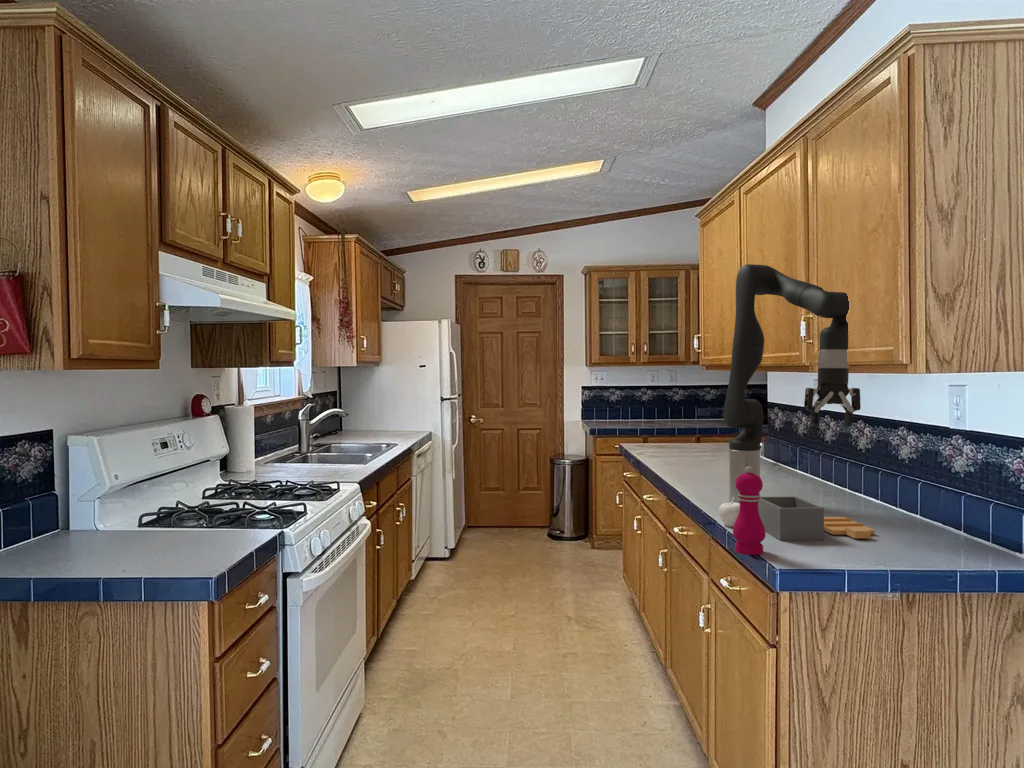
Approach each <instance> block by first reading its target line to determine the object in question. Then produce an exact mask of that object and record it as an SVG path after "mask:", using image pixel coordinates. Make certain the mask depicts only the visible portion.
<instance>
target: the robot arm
mask: <svg viewBox="0 0 1024 768" xmlns="http://www.w3.org/2000/svg"><path fill="white" fill-rule="evenodd" d="M844 292H845V291H842V292H841V291H828V290H824V289H823V288H822V286H818V285H816V284H813V283H810V282H806V281H803V280H801V279H800V280H799V279H795V278H793V277H790V276H788V275H786V274H784V273H782V272H781V271H779V270H777V269H776V268H774V267H772V266H770V265H764V264H750V263H749V264H744V265H742V266H741V267H740V268H739V269H738V272H737V274H736V281H735V318H734V333H733V334H734V335H733V338H732V339H733V341H732V351H731V362H730V373H729V381H728V387H727V391H726V395H725V401H724V405H723V418H724V423H725V424H726V426H727V427H728V428H730V429H741V432H740V433H739V434H738V435H737V436H735V437H733V438H732V439H730V441H729V445H728V447H729V451H728V452H729V455H728V457H729V459H728V460H729V464H728V465H729V476H728V477H729V480H728V481H729V493H728V495H729V497H728V499H729V502H730V503H731V501H732V498H733V497H734V500H733V503H734V502H735V503H740V500H738V493H739V491H738V490H737V488H736V484H735V483H736V479H737V477H738V476H739V475H741V474H743V473H746V472H745V468H746V467H748V466H750V467H752V469H753V472H752V473H753V474H756V475H758V476H759V477H760V478H761V460H760V459H761V457H760V456H761V453H760V452H761V444H762V439H763V429H764V428H763V426H764V410H763V406H762V404H761V403H760V401H758V400H757V399H754V398H745V395H746V391H747V386H748V384H749V382H750V380H751V379H752V377H753V376H754V374H755V372H756V371H757V370H758V368H759V366H760V365H761V363H762V360H763V357H764V349H765V335H764V332H763V330H762V327H761V324H760V323H759V321H758V318H757V316H756V311H755V299H756V296H764V295H770V296H779V297H781V298H784V299H785V300H786V302H788V303H789V304H791V305H794V306H796V307H798V308H802V309H803V310H807V311H809V312H810V313H812V314H813V315H815V316H818V317H820V318H825V319H831V323H830V324H829V325H830V326H827V327H825V328H822V329H821V330H820V332H819V350H818V351H819V352H818V357H817V359H818V360H817V387H816V388H813V387H806V388H805V390H804V402H803V403H804V404H803V409H804V410H807V411H810V412H811V414H810V416H811V417H810V419H811V420H810V423H811V424H812V426H813V427H817V428H818V427H819V426H820V411H821V409H822V408H823V407H824V406H825V405H832V404H833V405H834V404H835V405H840V406H841V408H843V410H844V411H845V412H844V414H843V417H844V418H843V425H844V426H845V427H851V425H852V424H853V422H854V421H853V420H854V419H853V418H854V416H853V415H854V412H856V411H860V410H861V389H860V388H859V387H852V388H849V386H848V385H849V371H850V364H849V365H848V363H847V350H849V335H848V323H847V321H846V315H847V313H848V310H849V301H848V296H847V294H846V293H847V292H846V293H844ZM816 395H817V396H818V397H817V398H816V400H815V401H814V397H815V396H816ZM848 395H849V396H850V397H851V399H850V401H851V403H850V401H849V400H848V399H847V396H848ZM813 402H814V403H813ZM759 494H760V495H761V491H760V492H759Z"/></svg>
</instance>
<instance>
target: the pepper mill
mask: <svg viewBox="0 0 1024 768" xmlns="http://www.w3.org/2000/svg"><path fill="white" fill-rule="evenodd" d="M745 472H746V473H743V474H741V475H739V476H738V477H737V479H736V483H735V484H736V488H737V490H738V491H739V493H738V500H740V509H739V514H738V517H737V519H736V521H735V524H734V527H732V536H733V537H734V539H735V540H736V542H735V543H734V551H735V552H736V553H738V554H740V555H746V556H759V555H762V554H764V545H763V544H762V542H763V541H764V540H765V538H766V532H765V528H764V525H763V523H762V520H761V518H760V515H759V510H758V502H759V501H760V497H761V491H762V490H763V486H764V485H763V480H762V477H761V476H760V477H759V476H758V475H756V474H753V473H752V472H753V469H752V467H750V466H748V467H746V468H745ZM759 492H760V494H759Z"/></svg>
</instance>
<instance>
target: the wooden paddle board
mask: <svg viewBox="0 0 1024 768" xmlns="http://www.w3.org/2000/svg"><path fill="white" fill-rule="evenodd" d="M824 532H826V533H828V534H831V535H833V536H848V537H850V538H853V539H871V535H875V533H876V531H875V529H874V528H871V527H869V526H866V525H864V524H863V522H857V521H855V520H852V518H849V517H848V518H847V517H845V516H824Z"/></svg>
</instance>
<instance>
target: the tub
mask: <svg viewBox="0 0 1024 768" xmlns="http://www.w3.org/2000/svg"><path fill="white" fill-rule="evenodd" d="M758 510H759V515H760V518H761V520H762V523H763V525H764V528H765V533H767V534H768V535H770V536H772V537H773V538H775V539H776V540H779V541H824V540H825V531H824V517H825V507H822V506H820V505H818V504H815V503H813V502H810V501H807V500H805V499H803V498H801V497H798V496H794V495H793V496H792V495H791V496H760V501H759V502H758Z"/></svg>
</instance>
